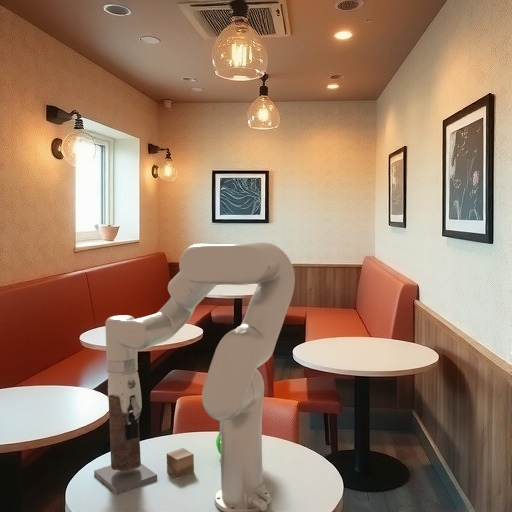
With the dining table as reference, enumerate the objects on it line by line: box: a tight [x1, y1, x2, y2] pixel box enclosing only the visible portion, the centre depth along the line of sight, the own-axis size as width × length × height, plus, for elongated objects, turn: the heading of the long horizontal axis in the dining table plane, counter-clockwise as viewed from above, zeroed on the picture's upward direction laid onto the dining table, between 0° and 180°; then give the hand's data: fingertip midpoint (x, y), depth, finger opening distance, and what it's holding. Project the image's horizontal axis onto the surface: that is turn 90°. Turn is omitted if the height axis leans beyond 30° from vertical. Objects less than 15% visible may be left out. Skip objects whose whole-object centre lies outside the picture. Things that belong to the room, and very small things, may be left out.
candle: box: [108, 395, 142, 471], centre depth 133 cm, size 8×7×20 cm
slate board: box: [93, 463, 158, 495], centre depth 133 cm, size 13×11×1 cm
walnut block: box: [166, 447, 195, 479], centre depth 136 cm, size 5×5×5 cm
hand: (124, 433), depth 133 cm, fingers open, 7 cm apart
